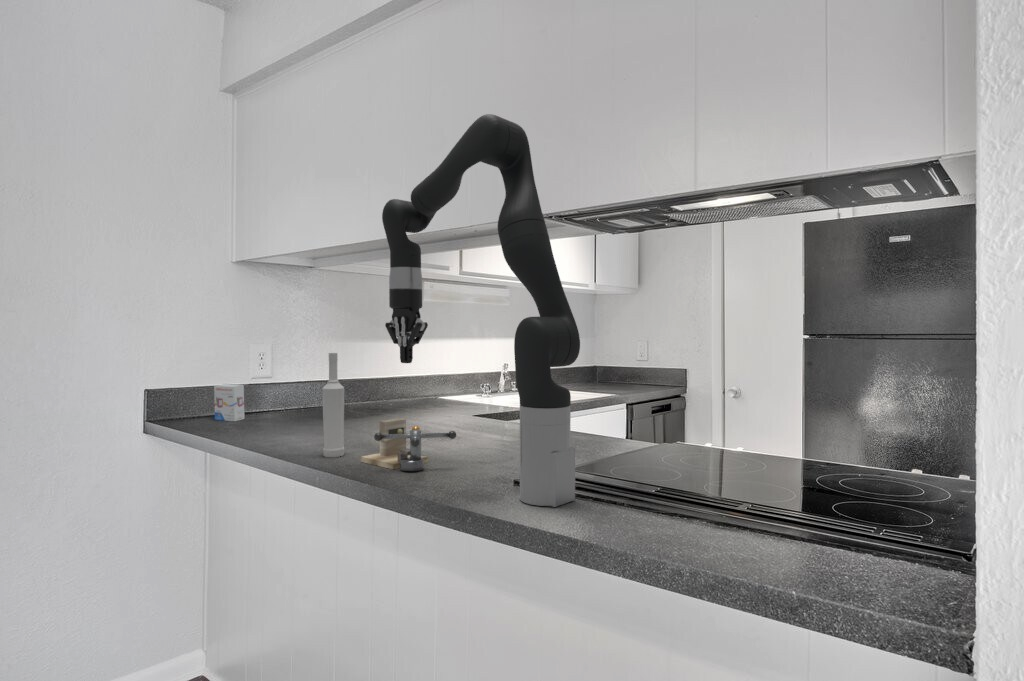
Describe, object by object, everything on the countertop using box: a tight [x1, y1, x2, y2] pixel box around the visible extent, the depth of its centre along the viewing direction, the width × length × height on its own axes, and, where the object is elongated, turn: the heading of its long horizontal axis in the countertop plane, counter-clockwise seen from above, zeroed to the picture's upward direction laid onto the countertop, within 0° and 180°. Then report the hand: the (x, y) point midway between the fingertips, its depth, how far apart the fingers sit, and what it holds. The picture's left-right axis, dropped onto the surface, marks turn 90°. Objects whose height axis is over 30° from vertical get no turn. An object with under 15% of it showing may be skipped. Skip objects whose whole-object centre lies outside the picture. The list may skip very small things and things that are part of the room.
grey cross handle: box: [373, 425, 457, 472], centre depth 139 cm, size 18×18×8 cm
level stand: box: [360, 418, 429, 470], centre depth 146 cm, size 14×10×9 cm
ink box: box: [213, 383, 245, 422], centre depth 212 cm, size 9×5×12 cm, turn 73°
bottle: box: [321, 352, 346, 458], centre depth 154 cm, size 5×5×25 cm
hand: (406, 362), depth 146 cm, fingers closed
